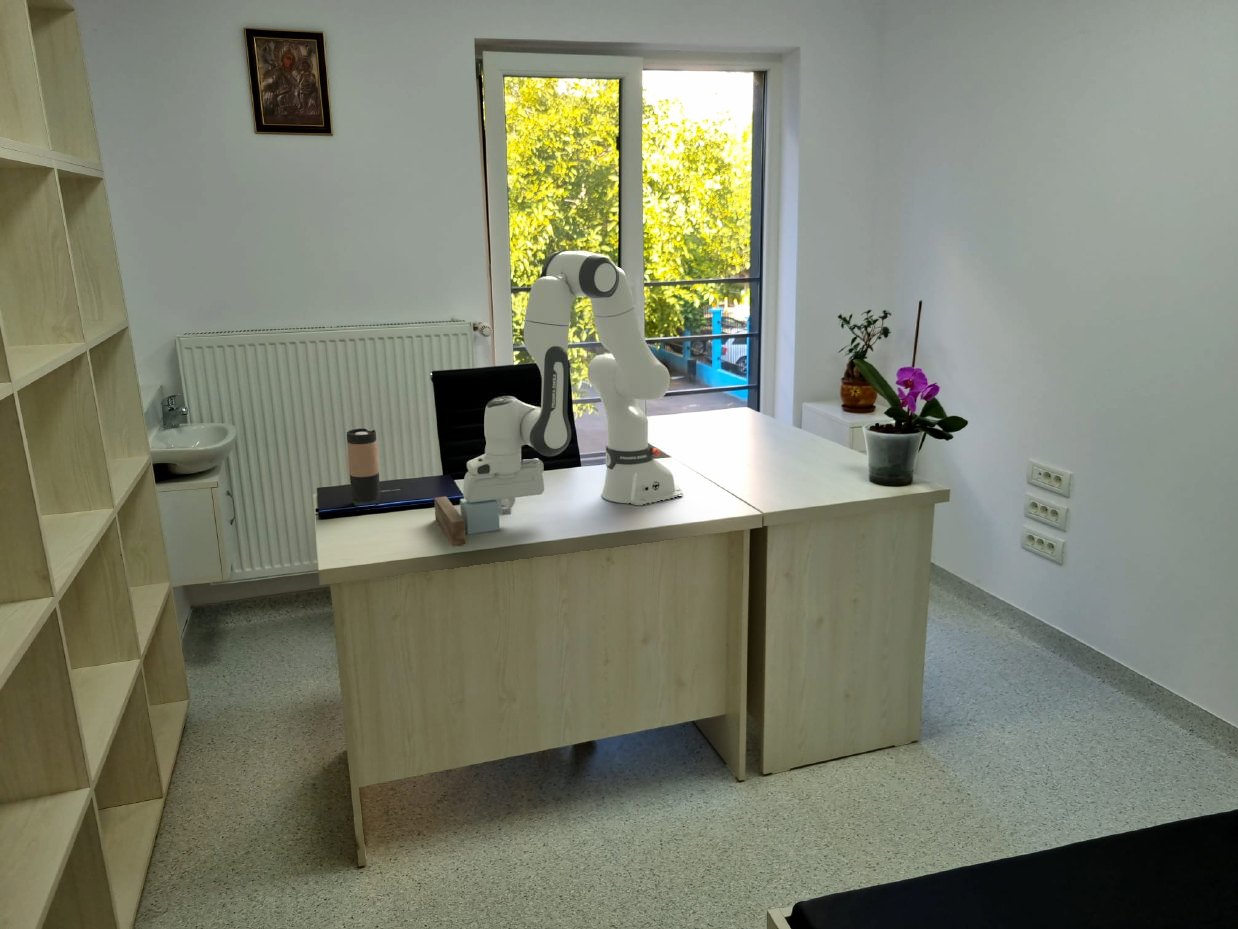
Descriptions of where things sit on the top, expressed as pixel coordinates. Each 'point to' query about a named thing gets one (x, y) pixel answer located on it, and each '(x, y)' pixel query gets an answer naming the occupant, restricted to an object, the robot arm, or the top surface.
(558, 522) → the top surface
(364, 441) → the travel mug
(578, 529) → the top surface
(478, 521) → the slate block
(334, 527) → the top surface
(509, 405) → the robot arm
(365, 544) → the top surface
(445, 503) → the stop board
